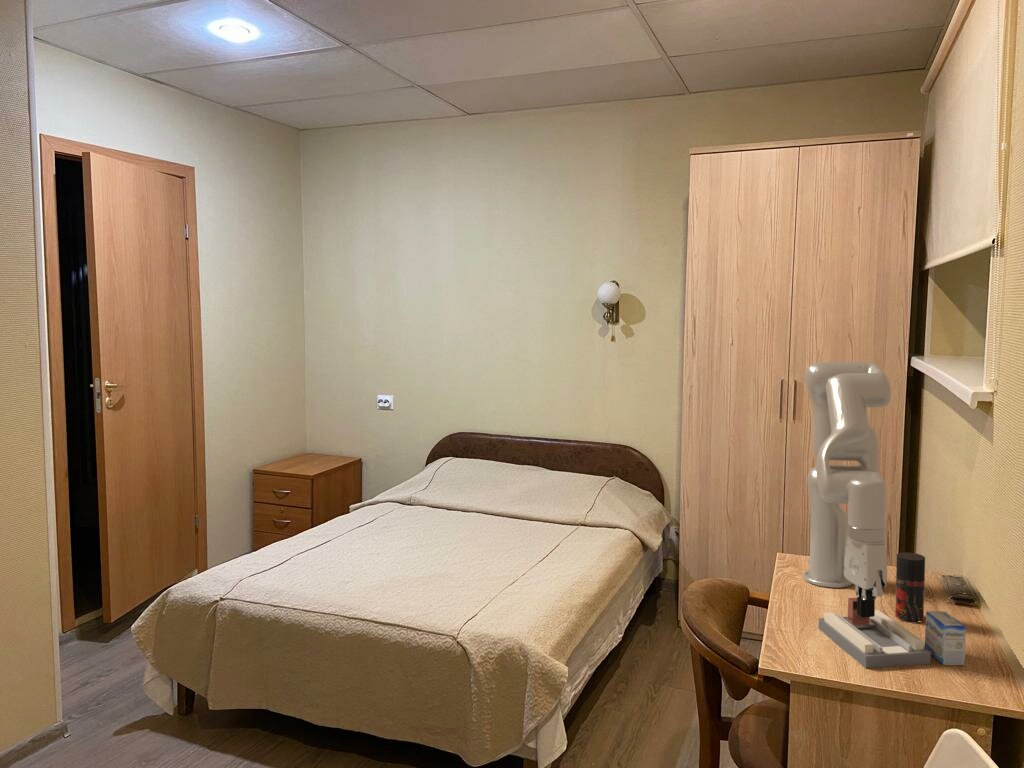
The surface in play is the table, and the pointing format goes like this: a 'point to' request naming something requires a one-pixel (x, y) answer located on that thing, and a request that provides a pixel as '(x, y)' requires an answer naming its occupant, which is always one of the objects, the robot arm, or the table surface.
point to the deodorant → (910, 587)
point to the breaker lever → (857, 616)
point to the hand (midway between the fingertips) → (865, 615)
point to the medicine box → (945, 638)
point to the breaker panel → (876, 641)
